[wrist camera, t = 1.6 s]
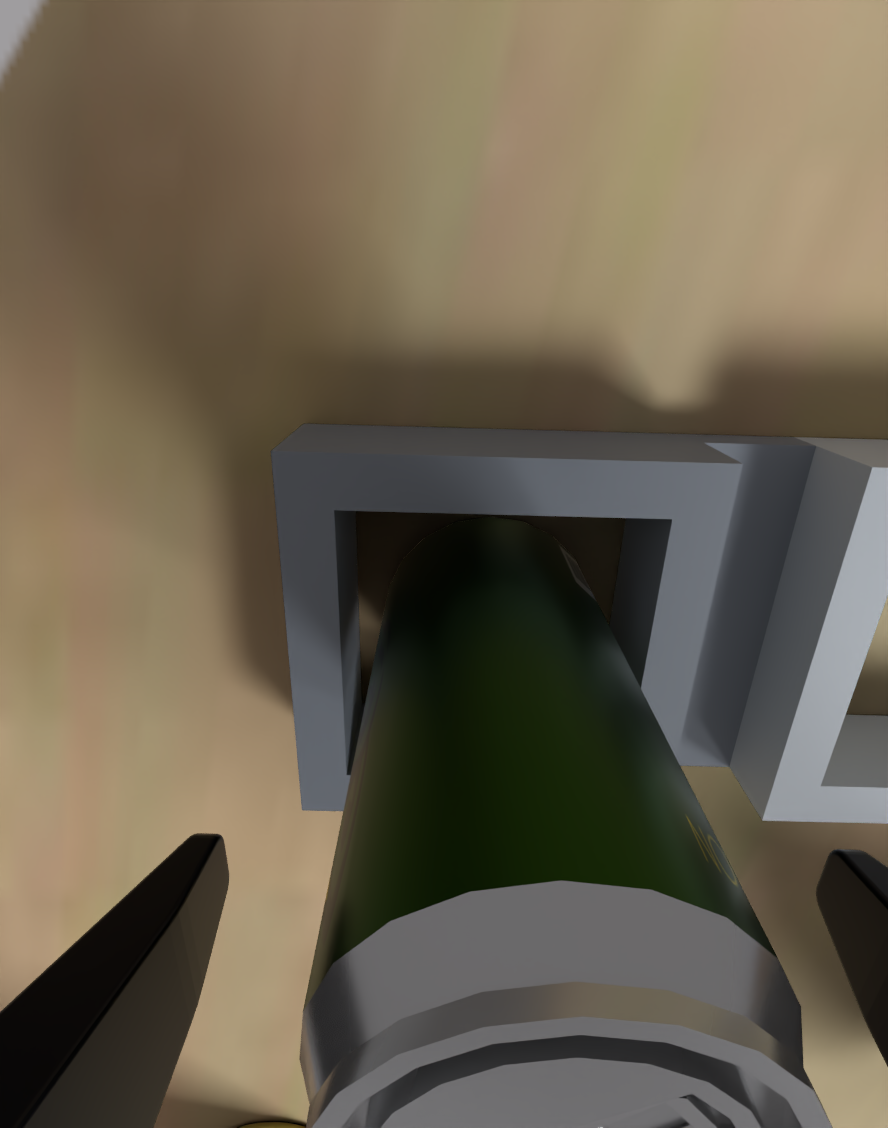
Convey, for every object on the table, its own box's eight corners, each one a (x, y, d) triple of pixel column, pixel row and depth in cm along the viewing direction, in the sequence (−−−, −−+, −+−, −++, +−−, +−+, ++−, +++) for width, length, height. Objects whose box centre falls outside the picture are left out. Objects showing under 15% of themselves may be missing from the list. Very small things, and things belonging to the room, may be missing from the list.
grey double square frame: (1173, 447, 15) (1337, 479, 12) (1019, 751, 19) (1119, 828, 16) (303, 423, 15) (271, 451, 12) (323, 734, 18) (302, 810, 16)
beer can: (510, 465, 15) (683, 898, 4) (620, 617, 17) (951, 1210, 6) (347, 583, 16) (147, 1149, 5) (464, 712, 18) (494, 1345, 7)
